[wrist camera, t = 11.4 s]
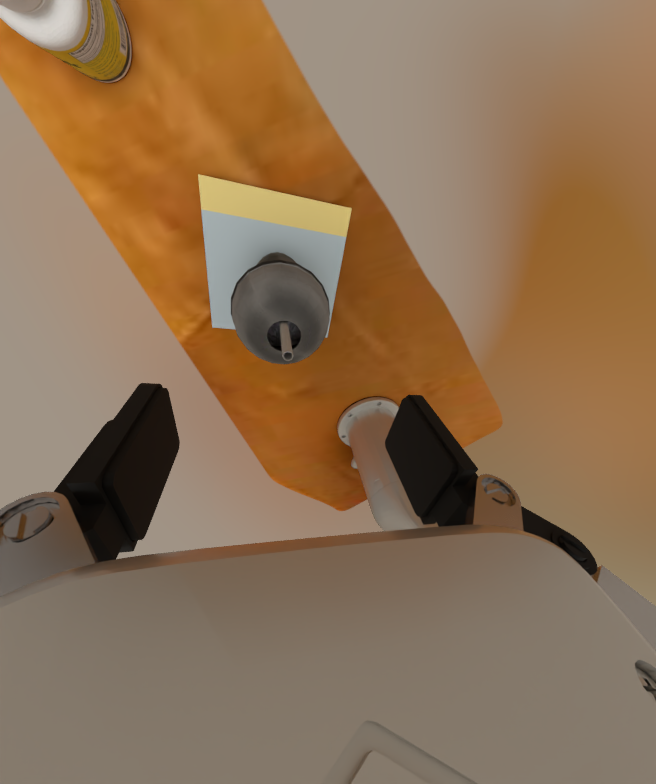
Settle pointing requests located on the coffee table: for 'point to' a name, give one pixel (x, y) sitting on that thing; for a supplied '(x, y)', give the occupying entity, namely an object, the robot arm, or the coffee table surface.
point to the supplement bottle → (75, 33)
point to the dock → (266, 237)
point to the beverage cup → (280, 310)
